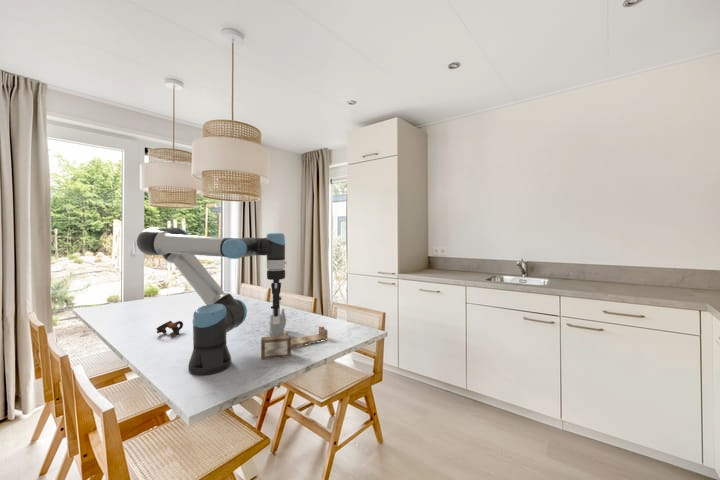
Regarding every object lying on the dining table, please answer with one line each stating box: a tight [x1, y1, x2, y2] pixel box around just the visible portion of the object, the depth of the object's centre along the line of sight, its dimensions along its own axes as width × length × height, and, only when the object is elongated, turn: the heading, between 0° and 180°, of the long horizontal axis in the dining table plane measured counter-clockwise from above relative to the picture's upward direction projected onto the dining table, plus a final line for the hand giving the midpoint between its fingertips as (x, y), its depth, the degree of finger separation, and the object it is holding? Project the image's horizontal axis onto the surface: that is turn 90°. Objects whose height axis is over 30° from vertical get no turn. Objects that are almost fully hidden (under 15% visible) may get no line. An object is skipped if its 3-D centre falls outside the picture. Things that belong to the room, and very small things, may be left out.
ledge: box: [282, 326, 328, 349], centre depth 148 cm, size 20×7×6 cm, turn 124°
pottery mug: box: [155, 320, 184, 338], centre depth 159 cm, size 12×10×8 cm
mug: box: [268, 308, 287, 337], centre depth 161 cm, size 8×12×12 cm, turn 162°
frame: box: [260, 334, 292, 360], centre depth 132 cm, size 12×4×8 cm, turn 104°
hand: (276, 319), depth 132 cm, fingers open, 13 cm apart
